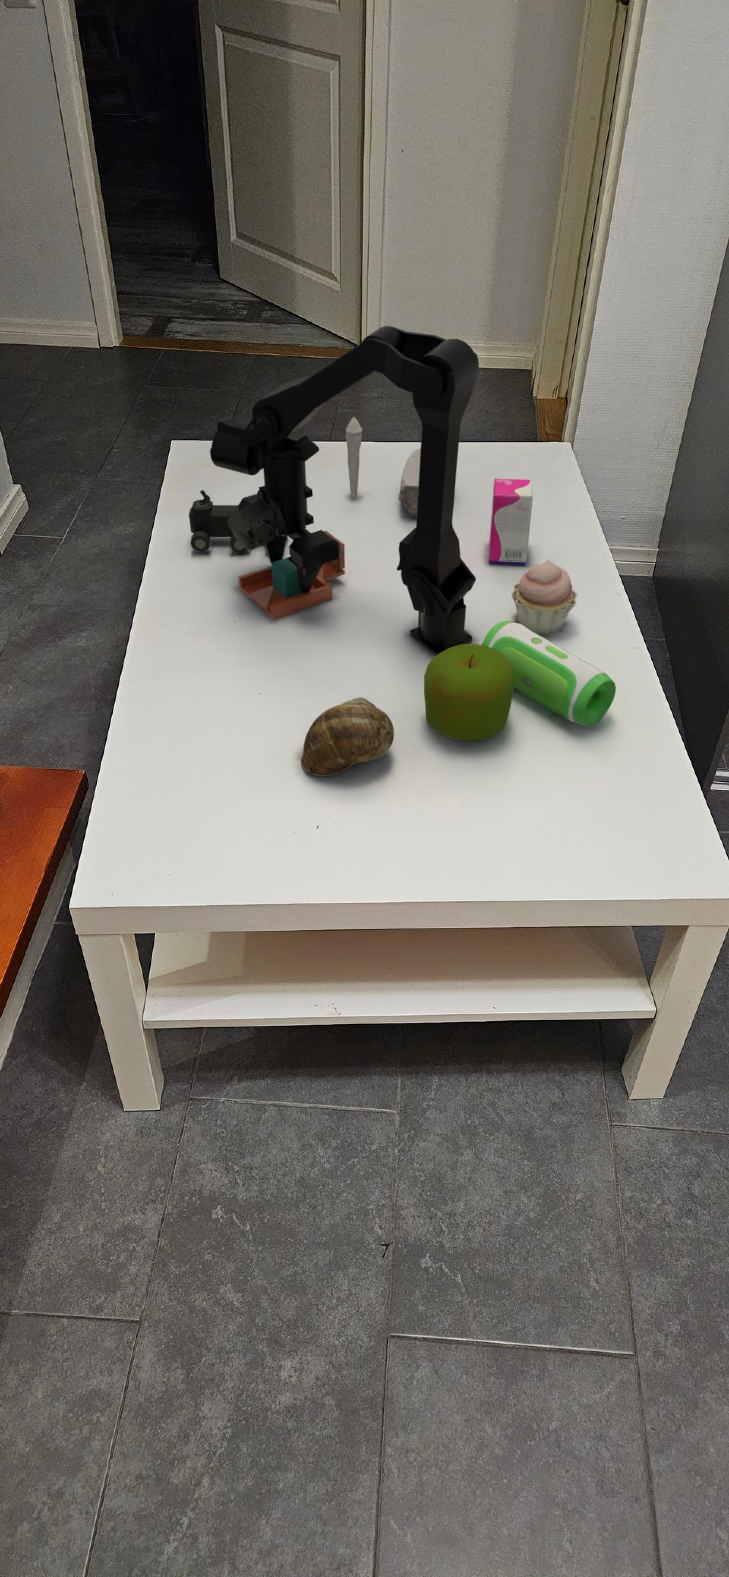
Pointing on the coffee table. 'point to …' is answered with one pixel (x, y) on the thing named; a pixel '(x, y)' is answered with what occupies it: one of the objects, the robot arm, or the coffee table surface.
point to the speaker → (553, 674)
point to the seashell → (346, 737)
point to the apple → (468, 692)
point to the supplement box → (510, 521)
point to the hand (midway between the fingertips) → (290, 580)
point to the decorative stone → (410, 484)
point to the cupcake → (544, 598)
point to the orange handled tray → (278, 606)
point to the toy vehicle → (212, 524)
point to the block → (285, 578)
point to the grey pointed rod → (353, 454)
